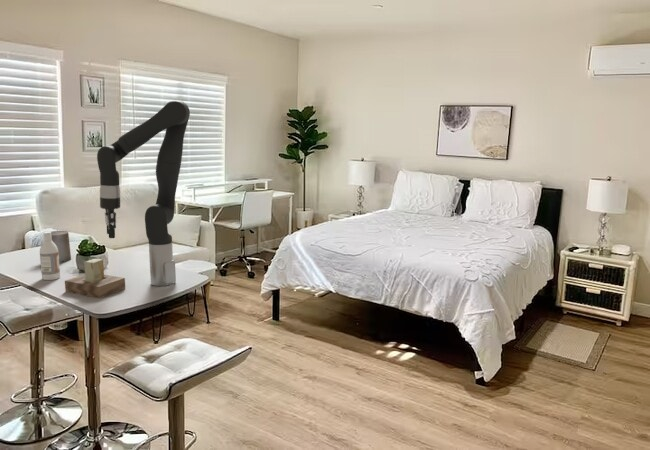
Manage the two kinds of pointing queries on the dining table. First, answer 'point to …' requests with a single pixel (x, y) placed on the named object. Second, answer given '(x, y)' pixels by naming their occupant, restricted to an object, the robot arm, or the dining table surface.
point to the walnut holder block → (95, 286)
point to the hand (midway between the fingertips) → (110, 235)
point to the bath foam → (49, 258)
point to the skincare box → (94, 270)
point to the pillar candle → (62, 244)
